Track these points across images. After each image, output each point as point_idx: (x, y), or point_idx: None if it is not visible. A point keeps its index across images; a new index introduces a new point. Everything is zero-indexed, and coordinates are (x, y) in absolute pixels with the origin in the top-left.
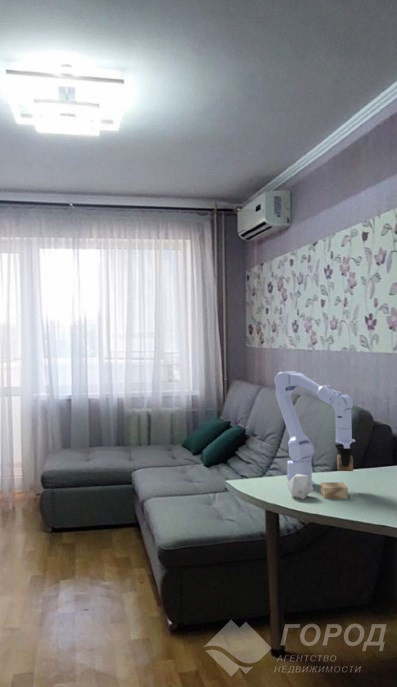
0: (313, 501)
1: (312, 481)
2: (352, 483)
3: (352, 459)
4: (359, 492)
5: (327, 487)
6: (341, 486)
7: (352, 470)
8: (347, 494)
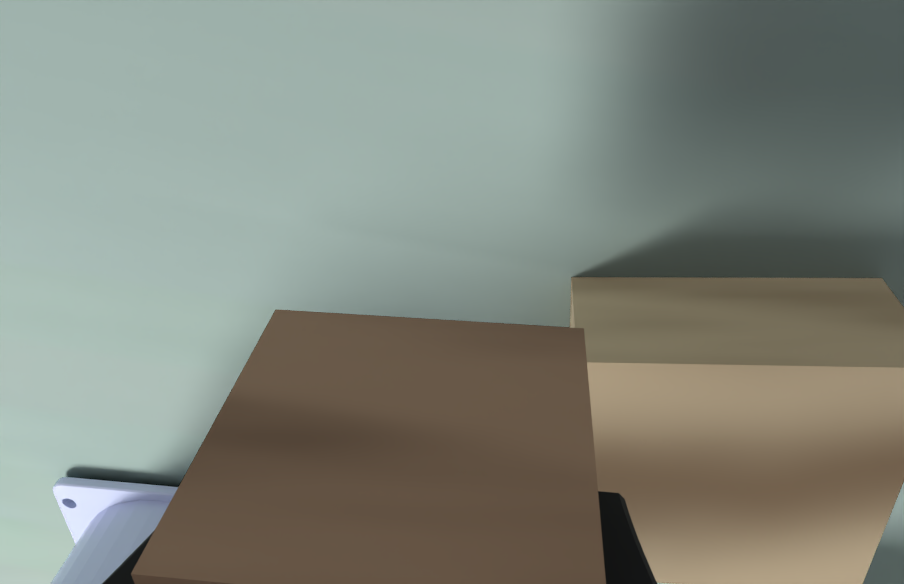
0: (898, 581)
1: (143, 494)
2: (23, 58)
3: (598, 563)
4: (582, 61)
5: (846, 565)
6: (841, 424)
7: (585, 349)
8: (900, 309)
